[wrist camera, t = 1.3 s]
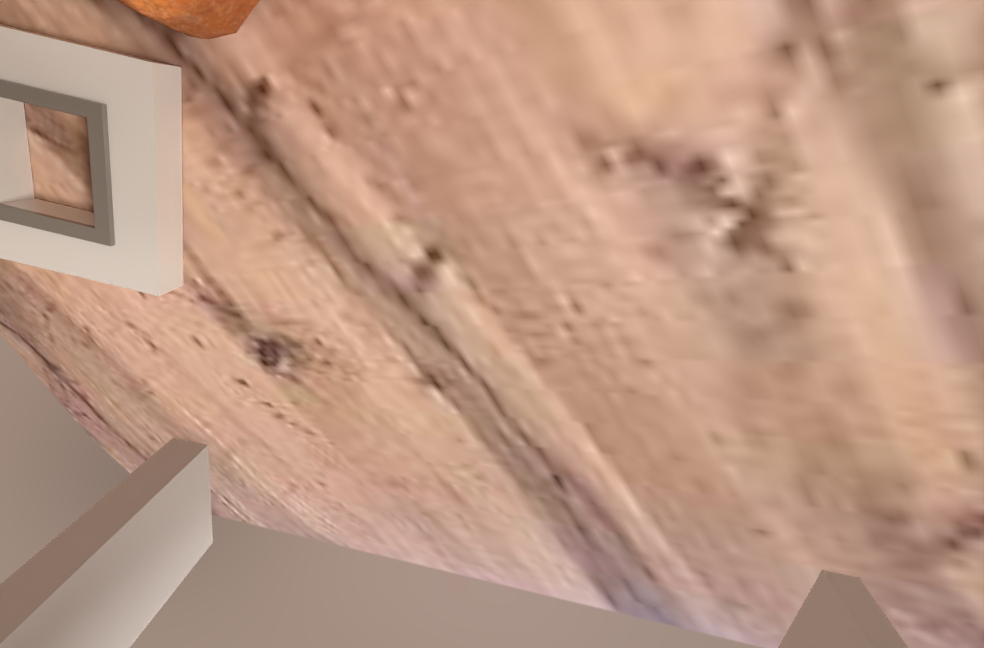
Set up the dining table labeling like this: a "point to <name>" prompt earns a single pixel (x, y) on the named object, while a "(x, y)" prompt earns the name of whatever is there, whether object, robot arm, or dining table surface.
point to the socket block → (95, 163)
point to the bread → (196, 15)
